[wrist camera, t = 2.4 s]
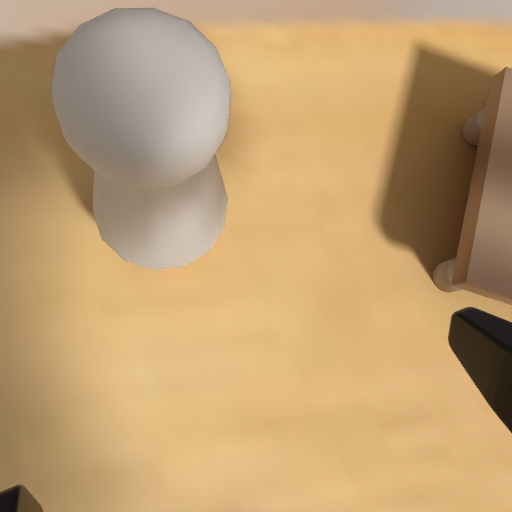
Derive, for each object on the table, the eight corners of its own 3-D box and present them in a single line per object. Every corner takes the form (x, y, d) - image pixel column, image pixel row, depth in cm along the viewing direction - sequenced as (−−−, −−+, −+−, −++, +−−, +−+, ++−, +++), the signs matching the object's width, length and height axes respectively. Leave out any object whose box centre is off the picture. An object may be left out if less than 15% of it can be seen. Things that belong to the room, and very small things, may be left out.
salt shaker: (112, 155, 24) (29, -66, 11) (227, 170, 24) (275, -20, 12) (94, 271, 22) (-20, 176, 10) (216, 283, 23) (256, 210, 10)
